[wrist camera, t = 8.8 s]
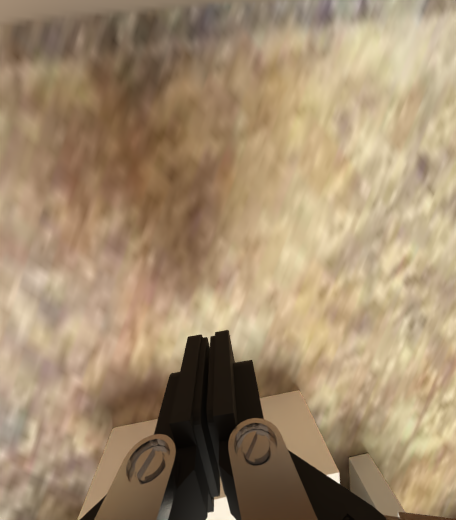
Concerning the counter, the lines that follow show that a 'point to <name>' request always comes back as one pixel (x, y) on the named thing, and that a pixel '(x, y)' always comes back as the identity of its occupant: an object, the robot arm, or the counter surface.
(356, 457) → the display stand
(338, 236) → the counter surface
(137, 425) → the carton
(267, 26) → the counter surface
